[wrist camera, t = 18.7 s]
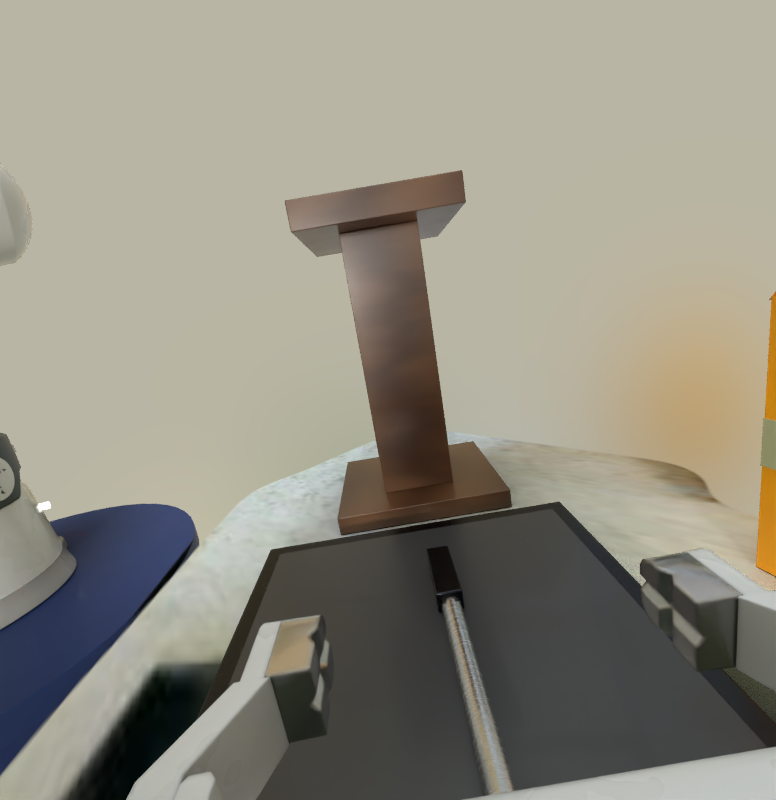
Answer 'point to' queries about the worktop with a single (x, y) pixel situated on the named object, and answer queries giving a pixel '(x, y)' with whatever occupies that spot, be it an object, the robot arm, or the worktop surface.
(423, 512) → the brown wooden pedestal
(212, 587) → the worktop surface
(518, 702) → the tablet
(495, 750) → the stylus
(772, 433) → the orange juice
